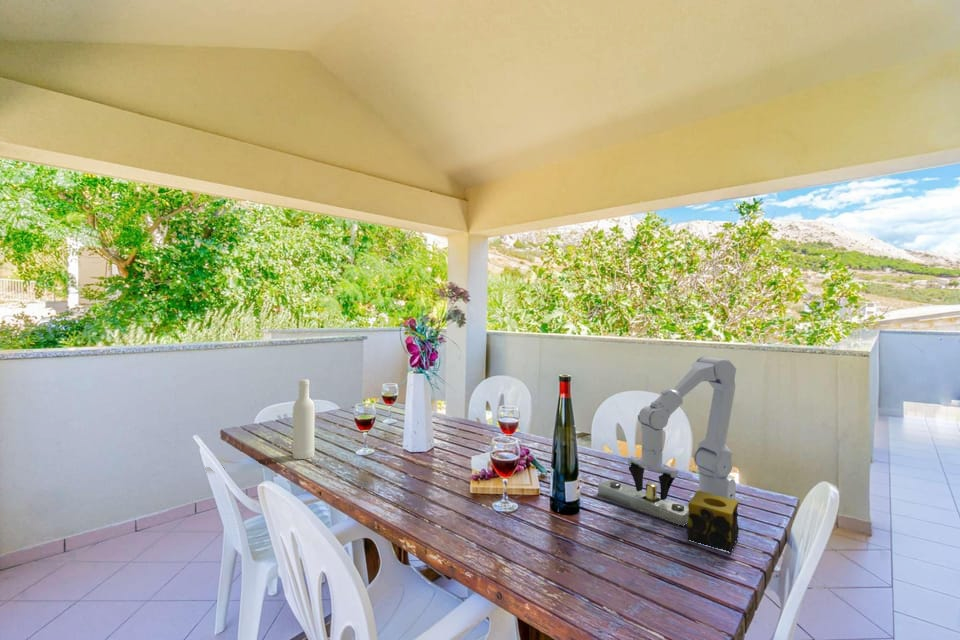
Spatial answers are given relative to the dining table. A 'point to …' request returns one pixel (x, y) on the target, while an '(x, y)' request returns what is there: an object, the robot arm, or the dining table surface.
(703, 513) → the yellow block with hole
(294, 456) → the bottle
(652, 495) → the pin
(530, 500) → the dining table surface
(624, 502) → the bolted metal base plate
